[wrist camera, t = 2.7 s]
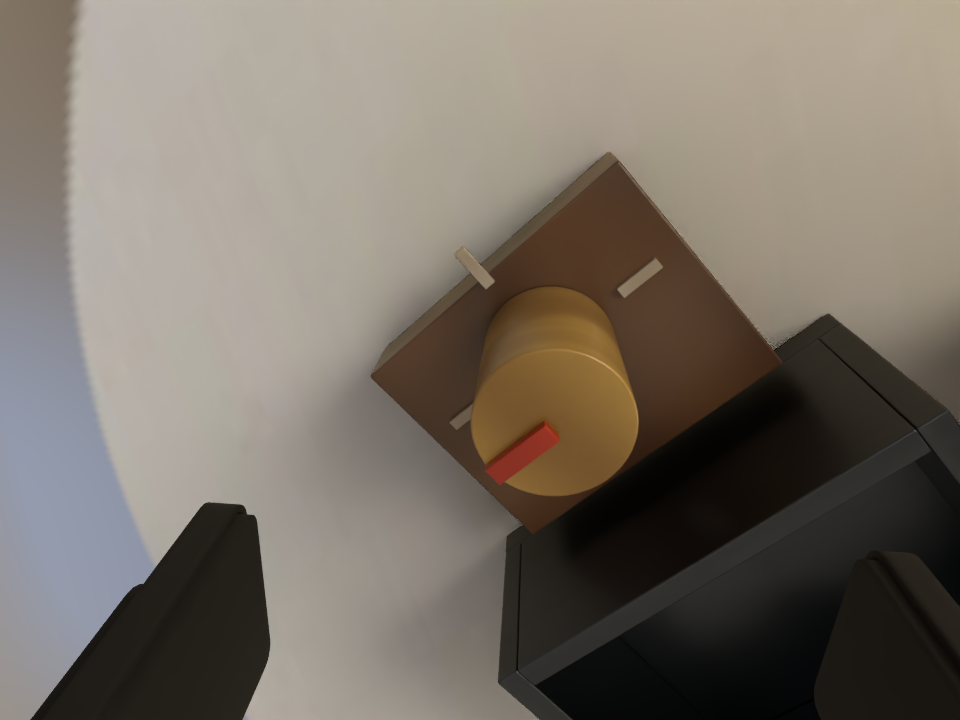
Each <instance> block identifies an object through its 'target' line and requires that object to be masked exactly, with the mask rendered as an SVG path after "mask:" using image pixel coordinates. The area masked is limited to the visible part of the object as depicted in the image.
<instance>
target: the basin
mask: <svg viewBox="0 0 960 720" xmlns="http://www.w3.org/2000/svg"><path fill="white" fill-rule="evenodd" d="M774 352H775V353H776V354H777V355H778V357H779V358H780V359H781V360H782V364H781V365H780V366H778V367H777V368H776V369H774V370H773V371H771V372H770V373H768V374H767V375H765V376H764V377H762V378H761V379H759V380H758V381H757V382H755V383H754V384H752V385H751V386H749V387H748V388H746V389H745V390H743V391H742V392H740V393H739V394H738V395H736V396H735V397H733V398H732V399H730V400H729V401H727V402H726V403H724V404H723V405H721V406H720V407H719V408H717V409H716V410H714V411H713V412H711V413H710V414H708V415H707V416H705V417H704V418H703V419H701V420H700V421H698V422H697V423H695V424H694V425H692V426H691V427H689V428H688V429H686V430H685V431H684V432H682V433H681V434H679V435H678V436H676V437H675V438H673V439H672V440H670V441H669V442H667V443H666V444H665V445H663V446H662V447H660V448H659V449H657V450H656V451H654V452H653V453H651V454H650V455H648V456H647V457H646V458H644V459H643V460H641V461H640V462H638V463H637V464H635V465H634V466H632V467H631V468H629V469H628V470H627V471H625V472H624V473H622V474H621V475H619V476H618V477H616V478H615V479H613V480H612V481H611V482H609V483H608V484H606V485H605V486H603V487H602V488H600V489H599V490H597V491H596V492H594V493H593V494H592V495H590V496H589V497H587V498H586V499H584V500H583V501H581V502H580V503H578V504H577V505H575V506H574V507H573V508H571V509H570V510H568V511H567V512H565V513H564V514H562V515H561V516H559V517H558V518H556V519H555V520H554V521H552V522H551V523H549V524H548V525H546V526H545V527H543V528H542V529H540V530H539V531H538V532H536V533H535V534H532V533H531V532H530V531H529V530H528V529H527V528H526V527H525V526H524V525H523V526H521V527H520V528H519V529H517V530H516V531H514V532H513V533H511V534H510V535H509V536H507V542H506V560H505V576H504V592H503V608H502V624H501V640H500V656H499V672H498V683H499V684H500V685H501V686H502V687H503V688H504V689H505V690H507V691H508V692H509V693H510V694H511V695H512V696H513V697H515V698H516V699H517V700H518V701H519V702H520V703H521V704H523V705H524V706H525V707H526V708H527V709H528V710H530V711H531V712H532V713H533V714H534V715H535V716H536V717H538V718H539V719H540V720H821V718H820V716H819V713H818V711H817V708H816V705H815V700H814V686H815V682H816V679H817V676H818V673H819V670H820V667H821V664H822V661H823V657H824V654H825V651H826V648H827V645H828V642H829V639H830V636H831V633H832V630H833V627H834V624H835V621H836V618H837V615H838V612H839V609H840V606H841V603H842V600H843V597H844V594H845V590H846V587H847V584H848V581H849V578H850V575H851V572H852V569H853V566H854V564H855V562H856V561H857V560H859V559H865V557H866V555H867V554H868V553H869V552H870V551H874V550H878V551H891V552H905V553H912V554H915V555H917V556H918V557H919V558H920V559H921V560H922V561H923V563H924V564H925V565H926V566H927V567H928V569H929V570H930V571H931V572H932V574H933V575H934V576H935V577H936V579H937V580H938V581H939V582H940V583H941V585H942V586H943V587H944V588H945V590H946V591H947V592H948V593H949V595H950V596H951V597H952V598H953V599H954V601H955V602H956V603H957V604H958V606H959V607H960V425H959V423H958V422H957V421H956V419H955V418H954V417H953V415H952V414H951V413H950V411H949V410H948V409H947V408H945V407H944V406H943V405H942V404H940V403H939V402H938V401H937V400H935V399H934V398H933V397H932V396H930V395H929V394H928V393H927V392H926V391H924V390H923V389H922V388H921V387H919V386H918V385H917V384H916V383H914V382H913V381H912V380H911V379H909V378H908V377H907V376H906V375H904V374H903V373H902V372H901V371H900V370H898V369H897V368H896V367H895V366H893V365H892V364H891V363H890V362H888V361H887V360H886V359H885V358H883V357H882V356H881V355H880V354H878V353H877V352H876V351H875V350H874V349H872V348H871V347H870V346H869V345H867V344H866V343H865V342H864V341H862V340H861V339H860V338H859V337H857V336H856V335H855V334H854V333H852V332H851V331H850V330H849V329H848V328H846V327H845V326H844V325H842V324H841V323H840V322H839V321H838V320H836V319H835V318H834V317H833V316H831V315H830V314H827V315H825V316H824V317H822V318H821V319H819V320H818V321H817V322H815V323H814V324H812V325H811V326H809V327H808V328H806V329H805V330H804V331H802V332H801V333H799V334H798V335H796V336H795V337H793V338H792V339H791V340H789V341H788V342H786V343H785V344H783V345H782V346H781V347H779V348H778V349H776V350H775V351H774Z"/></svg>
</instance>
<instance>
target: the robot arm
mask: <svg viewBox="0 0 960 720" xmlns="http://www.w3.org/2000/svg"><path fill="white" fill-rule="evenodd" d="M269 651H270V634H269V625H268V616H267V607H266V598H265V589H264V580H263V571H262V562H261V553H260V544H259V535H258V526H257V520H256V517H255V516H254V515H247V513H246V509H245V507H244V506H242V505H238V504H224V503H210V502H208V503H205V504H204V505H203V506H202V507H201V508H200V509H199V510H198V512H197V513H196V514H195V516H194V517H193V518H192V520H191V521H190V522H189V524H188V525H187V526H186V528H185V529H184V530H183V532H182V533H181V534H180V536H179V537H178V538H177V540H176V541H175V542H174V544H173V545H172V546H171V548H170V549H169V550H168V552H167V553H166V554H165V556H164V557H163V558H162V560H161V561H160V562H159V564H158V565H157V566H156V568H155V569H154V571H153V572H152V573H151V575H150V576H149V577H148V579H147V580H146V581H145V583H144V584H139V585H137V586H135V587H133V588H132V589H131V590H130V591H129V592H128V593H127V595H126V596H125V597H124V598H123V600H122V601H121V602H120V603H119V605H118V606H117V607H116V609H115V610H114V611H113V613H112V614H111V615H110V617H109V618H108V619H107V621H106V622H105V623H104V624H103V626H102V627H101V628H100V630H99V631H98V632H97V634H96V635H95V636H94V638H93V639H92V640H91V641H90V643H89V644H88V645H87V647H86V648H85V649H84V651H83V652H82V653H81V655H80V656H79V657H78V658H77V660H76V661H75V662H74V664H73V665H72V666H71V668H70V669H69V670H68V671H67V673H66V674H65V676H64V677H63V678H62V679H61V681H60V682H59V683H58V685H57V686H56V687H55V688H54V690H53V691H52V692H51V694H50V695H49V696H48V698H47V699H46V700H45V702H44V703H43V704H42V706H41V707H40V708H39V709H38V711H37V712H36V713H35V715H34V716H33V717H32V719H31V720H242V719H243V717H244V715H245V712H246V710H247V708H248V706H249V703H250V701H251V699H252V696H253V694H254V692H255V690H256V687H257V685H258V683H259V680H260V678H261V676H262V674H263V671H264V669H265V667H266V664H267V661H268V657H269ZM814 700H815V705H816V708H817V711H818V713H819V716H820V718H821V720H960V607H959V606H958V604H957V603H956V602H955V601H954V599H953V598H952V597H951V596H950V595H949V593H948V592H947V591H946V590H945V588H944V587H943V586H942V585H941V583H940V582H939V581H938V580H937V579H936V577H935V576H934V575H933V574H932V572H931V571H930V570H929V569H928V567H927V566H926V565H925V564H924V563H923V561H922V560H921V559H920V558H919V557H918V556H917V555H915V554H912V553H905V552H891V551H878V550H874V551H870V552H869V553H868V554H867V555H866V557H865V559H859V560H857V561H856V562H855V564H854V566H853V569H852V572H851V575H850V578H849V581H848V584H847V587H846V590H845V594H844V597H843V600H842V603H841V606H840V609H839V612H838V615H837V618H836V621H835V624H834V627H833V630H832V633H831V636H830V639H829V642H828V645H827V648H826V651H825V654H824V657H823V661H822V664H821V667H820V670H819V673H818V676H817V679H816V682H815V686H814Z"/></svg>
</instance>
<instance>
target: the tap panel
mask: <svg viewBox="0 0 960 720" xmlns="http://www.w3.org/2000/svg"><path fill="white" fill-rule="evenodd" d="M454 256H455V257H456V258H457V259H458V260H459V261H460V262H461V263H462V264H463V265H464V267H465V268H466V269H467V270H468V271H469V272H470V274H469V275H468V276H467V277H466V278H465V279H463V280H462V281H461V282H460V283H459V284H458V285H457V286H455V287H454V288H453V289H452V290H451V291H450V292H449V293H448V294H446V295H445V296H444V297H443V298H442V299H441V300H440V301H438V302H437V303H436V304H435V305H434V306H433V307H432V308H430V309H429V310H428V311H427V312H426V313H425V314H424V315H423V316H421V317H420V318H419V319H418V320H417V321H416V322H415V323H413V324H412V325H411V326H410V327H409V328H408V329H407V330H406V331H404V332H403V333H402V334H401V335H400V336H399V337H398V338H396V339H395V340H394V341H393V342H392V343H391V344H390V345H388V346H387V347H386V349H385V351H384V352H383V354H382V356H381V358H380V360H379V362H378V363H377V365H376V367H375V369H374V371H373V372H372V374H371V378H372V379H373V380H374V381H375V382H376V383H377V384H378V385H379V386H380V387H381V388H382V389H383V390H384V391H385V392H386V393H387V394H388V395H390V396H391V397H392V398H393V399H394V400H395V401H396V402H397V403H398V404H399V405H400V406H401V407H402V408H403V409H404V410H405V411H406V412H407V413H408V414H409V415H410V416H411V417H412V418H413V419H414V420H415V421H416V422H417V423H418V424H419V425H420V426H422V427H423V428H424V429H425V430H426V431H427V432H428V433H429V434H430V435H431V436H432V437H433V438H434V439H435V440H436V441H437V442H438V443H439V444H440V445H441V446H442V447H443V448H444V449H445V450H446V451H447V452H448V453H449V454H450V455H451V456H452V457H454V458H455V459H456V460H457V461H458V462H459V463H460V464H461V465H462V466H463V467H464V468H465V469H466V470H467V471H468V472H469V473H470V474H471V475H472V476H473V477H474V478H475V479H476V480H477V481H478V482H479V483H480V484H481V485H482V486H483V487H484V488H486V489H487V490H488V491H489V492H490V493H491V494H492V495H493V496H494V497H495V498H496V499H497V500H498V501H499V502H500V503H501V504H502V505H503V506H504V507H505V508H506V509H507V510H508V511H509V512H510V513H511V514H512V515H513V516H514V517H515V518H516V519H518V520H519V521H520V522H521V523H522V524H523V525H524V526H525V527H526V528H527V529H528V530H529V531H530V532H531V533H532V534H535V533H536V532H538V531H539V530H540V529H542V528H543V527H545V526H546V525H548V524H549V523H551V522H552V521H554V520H555V519H556V518H558V517H559V516H561V515H562V514H564V513H565V512H567V511H568V510H570V509H571V508H573V507H574V506H575V505H577V504H578V503H580V502H581V501H583V500H584V499H586V498H587V497H589V496H590V495H592V494H593V493H594V492H596V491H597V490H599V489H600V488H602V487H603V486H605V485H606V484H608V483H609V482H611V481H612V480H613V479H615V478H616V477H618V476H619V475H621V474H622V473H624V472H625V471H627V470H628V469H629V468H631V467H632V466H634V465H635V464H637V463H638V462H640V461H641V460H643V459H644V458H646V457H647V456H648V455H650V454H651V453H653V452H654V451H656V450H657V449H659V448H660V447H662V446H663V445H665V444H666V443H667V442H669V441H670V440H672V439H673V438H675V437H676V436H678V435H679V434H681V433H682V432H684V431H685V430H686V429H688V428H689V427H691V426H692V425H694V424H695V423H697V422H698V421H700V420H701V419H703V418H704V417H705V416H707V415H708V414H710V413H711V412H713V411H714V410H716V409H717V408H719V407H720V406H721V405H723V404H724V403H726V402H727V401H729V400H730V399H732V398H733V397H735V396H736V395H738V394H739V393H740V392H742V391H743V390H745V389H746V388H748V387H749V386H751V385H752V384H754V383H755V382H757V381H758V380H759V379H761V378H762V377H764V376H765V375H767V374H768V373H770V372H771V371H773V370H774V369H776V368H777V367H778V366H780V365H781V364H782V360H781V359H780V358H779V357H778V355H777V354H776V353H775V352H774V350H773V349H772V348H771V347H770V345H769V344H768V343H767V342H766V341H765V339H764V338H763V337H762V336H761V334H760V333H759V332H758V331H757V329H756V328H755V327H754V326H753V325H752V323H751V322H750V321H749V320H748V318H747V317H746V316H745V315H744V313H743V312H742V311H741V310H740V309H739V307H738V306H737V305H736V304H735V302H734V301H733V300H732V299H731V298H730V296H729V295H728V294H727V293H726V291H725V290H724V289H723V288H722V286H721V285H720V284H719V283H718V282H717V280H716V279H715V278H714V277H713V275H712V274H711V273H710V272H709V270H708V269H707V268H706V267H705V266H704V264H703V263H702V262H701V261H700V259H699V258H698V257H697V256H696V254H695V253H694V252H693V251H692V250H691V248H690V247H689V246H688V245H687V243H686V242H685V241H684V240H683V238H682V237H681V236H680V235H679V234H678V232H677V231H676V230H675V229H674V227H673V226H672V225H671V224H670V223H669V221H668V220H667V219H666V218H665V216H664V215H663V214H662V213H661V211H660V210H659V209H658V208H657V207H656V205H655V204H654V203H653V202H652V200H651V199H650V198H649V197H648V195H647V194H646V193H645V192H644V191H643V189H642V188H641V187H640V186H639V184H638V183H637V182H636V181H635V179H634V178H633V177H632V176H631V175H630V173H629V172H628V171H627V170H626V168H625V167H624V166H623V165H622V163H621V162H620V161H619V160H618V159H617V158H616V157H615V156H614V155H613V154H612V153H611V152H608V153H606V154H605V155H604V156H603V157H602V158H601V159H600V160H598V161H597V162H596V163H595V164H594V165H593V166H592V167H591V168H589V169H588V170H587V171H586V172H585V173H584V174H583V175H581V176H580V177H579V178H578V179H577V180H576V181H575V182H574V183H572V184H571V185H570V186H569V187H568V188H567V189H566V190H564V191H563V192H562V193H561V194H560V195H559V196H558V197H556V198H555V199H554V200H553V201H552V202H551V203H550V204H549V205H547V206H546V207H545V208H544V209H543V210H542V211H541V212H539V213H538V214H537V215H536V216H535V217H534V218H533V219H532V220H530V221H529V222H528V223H527V224H526V225H525V226H524V227H522V228H521V229H520V230H519V231H518V232H517V233H516V234H514V235H513V236H512V237H511V238H510V239H509V240H508V241H507V242H505V243H504V244H503V245H502V246H501V247H500V248H499V249H497V250H496V251H495V252H494V253H493V254H492V255H491V256H490V257H488V258H487V259H486V260H485V261H484V262H483V263H482V264H479V263H478V262H477V260H476V259H475V258H474V257H473V256H472V255H471V254H470V253H469V252H468V251H467V250H466V249H465V247H464V246H462V247H461V248H460V249H459V250H458V251H457V252H456V253H455V254H454ZM539 287H563V288H568V289H571V290H574V291H577V292H579V293H582V294H583V295H585V296H587V297H589V298H590V299H591V300H593V301H594V302H595V303H596V304H597V305H598V306H599V307H600V308H601V309H602V310H603V311H604V312H605V314H606V315H607V317H608V319H609V320H610V322H611V325H612V327H613V330H614V333H615V336H616V340H617V343H618V346H619V349H620V353H621V356H622V359H623V362H624V366H625V369H626V372H627V375H628V379H629V382H630V385H631V388H632V392H633V395H634V398H635V401H636V406H637V410H638V419H639V425H638V434H637V438H636V442H635V444H634V447H633V450H632V452H631V453H630V455H629V457H628V459H627V460H626V461H625V463H624V464H623V465H622V467H621V468H620V469H619V470H618V471H617V472H616V473H615V474H614V475H613V476H611V477H610V478H609V479H608V480H606V481H605V482H603V483H601V484H600V485H598V486H596V487H594V488H592V489H590V490H587V491H584V492H581V493H578V494H572V495H567V496H543V495H536V494H532V493H528V492H525V491H522V490H519V489H517V488H515V487H513V486H511V485H509V484H507V483H506V482H504V483H502V484H501V485H499V484H498V483H497V482H496V481H495V480H494V479H493V478H492V477H491V476H490V475H489V474H488V473H487V472H486V471H485V467H486V464H485V463H484V462H483V460H482V459H481V457H480V456H479V454H478V452H477V450H476V448H475V445H474V442H473V439H472V433H471V423H470V418H471V410H472V404H473V399H474V394H475V389H476V384H477V379H478V373H479V368H480V363H481V358H482V353H483V347H484V342H485V337H486V333H487V330H488V327H489V325H490V322H491V321H492V319H493V317H494V315H495V314H496V313H497V312H498V310H499V309H500V308H501V307H502V306H503V305H504V304H505V303H506V302H507V301H509V300H510V299H512V298H513V297H515V296H516V295H518V294H520V293H522V292H525V291H527V290H530V289H534V288H539Z"/></svg>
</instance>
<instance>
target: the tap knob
mask: <svg viewBox="0 0 960 720" xmlns="http://www.w3.org/2000/svg"><path fill="white" fill-rule="evenodd" d="M470 423H471V433H472V439H473V442H474V445H475V448H476V450H477V452H478V454H479V456H480V457H481V459H482V460H483V462H484V463H485V464H486V467H485V471H486V472H487V473H488V474H489V475H490V476H491V477H492V478H493V479H494V480H495V481H496V482H497V483H498V484H499V485H501V484H502V483H504V482H506V483H507V484H509V485H511V486H513V487H515V488H517V489H519V490H522V491H525V492H528V493H532V494H536V495H543V496H567V495H572V494H578V493H581V492H584V491H587V490H590V489H592V488H594V487H596V486H598V485H600V484H601V483H603V482H605V481H606V480H608V479H609V478H610V477H611V476H613V475H614V474H615V473H616V472H617V471H618V470H619V469H620V468H621V467H622V465H623V464H624V463H625V461H626V460H627V459H628V457H629V455H630V453H631V452H632V450H633V447H634V444H635V442H636V438H637V434H638V425H639V419H638V410H637V406H636V401H635V398H634V395H633V392H632V388H631V385H630V382H629V379H628V375H627V372H626V369H625V366H624V362H623V359H622V356H621V353H620V349H619V346H618V343H617V340H616V336H615V333H614V330H613V327H612V325H611V322H610V320H609V319H608V317H607V315H606V314H605V312H604V311H603V310H602V309H601V308H600V307H599V306H598V305H597V304H596V303H595V302H594V301H593V300H591V299H590V298H589V297H587V296H585V295H583V294H582V293H579V292H577V291H574V290H571V289H568V288H563V287H539V288H534V289H530V290H527V291H525V292H522V293H520V294H518V295H516V296H515V297H513V298H512V299H510V300H509V301H507V302H506V303H505V304H504V305H503V306H502V307H501V308H500V309H499V310H498V312H497V313H496V314H495V315H494V317H493V319H492V321H491V322H490V325H489V327H488V330H487V333H486V337H485V342H484V347H483V353H482V358H481V363H480V368H479V373H478V379H477V384H476V389H475V394H474V399H473V404H472V410H471V418H470Z"/></svg>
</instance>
